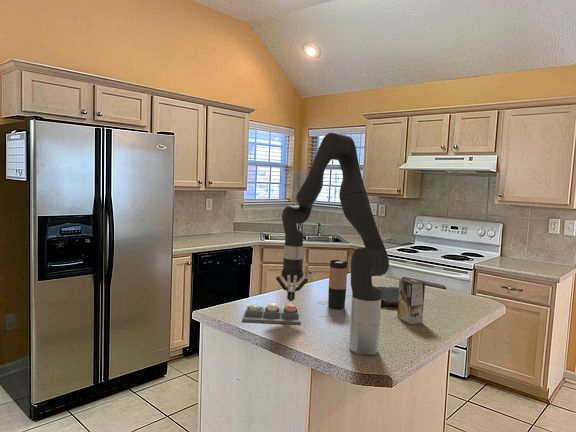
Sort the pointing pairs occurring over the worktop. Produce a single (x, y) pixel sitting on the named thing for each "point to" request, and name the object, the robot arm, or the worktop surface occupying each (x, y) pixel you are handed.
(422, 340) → the worktop surface
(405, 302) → the coffee box
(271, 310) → the cream button
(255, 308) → the sage button
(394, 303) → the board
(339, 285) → the travel mug
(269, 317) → the button panel
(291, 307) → the terracotta button
